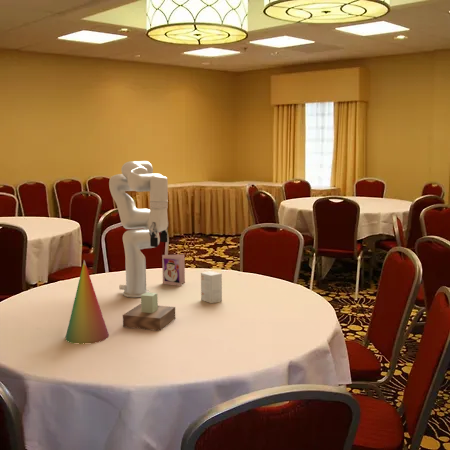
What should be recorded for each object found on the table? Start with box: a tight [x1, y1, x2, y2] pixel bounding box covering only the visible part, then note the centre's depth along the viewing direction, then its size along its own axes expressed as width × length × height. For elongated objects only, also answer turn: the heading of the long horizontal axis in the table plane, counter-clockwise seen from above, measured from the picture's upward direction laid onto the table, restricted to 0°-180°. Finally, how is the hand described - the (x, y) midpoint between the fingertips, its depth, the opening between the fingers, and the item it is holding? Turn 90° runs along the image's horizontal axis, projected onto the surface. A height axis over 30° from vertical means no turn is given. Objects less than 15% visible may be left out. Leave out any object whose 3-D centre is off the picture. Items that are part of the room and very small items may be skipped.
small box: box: [200, 270, 223, 304], centre depth 268 cm, size 8×6×13 cm
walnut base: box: [122, 303, 176, 332], centre depth 237 cm, size 16×16×5 cm
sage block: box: [140, 292, 159, 313], centre depth 236 cm, size 5×5×7 cm
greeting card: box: [161, 253, 186, 287], centre depth 300 cm, size 11×7×15 cm, turn 62°
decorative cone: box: [65, 259, 110, 345], centre depth 219 cm, size 16×16×30 cm
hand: (159, 244), depth 251 cm, fingers open, 9 cm apart
